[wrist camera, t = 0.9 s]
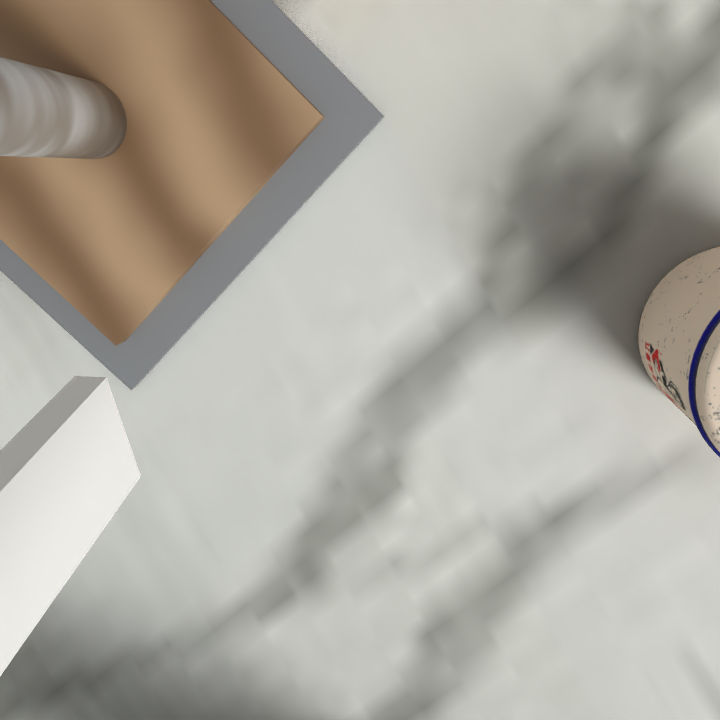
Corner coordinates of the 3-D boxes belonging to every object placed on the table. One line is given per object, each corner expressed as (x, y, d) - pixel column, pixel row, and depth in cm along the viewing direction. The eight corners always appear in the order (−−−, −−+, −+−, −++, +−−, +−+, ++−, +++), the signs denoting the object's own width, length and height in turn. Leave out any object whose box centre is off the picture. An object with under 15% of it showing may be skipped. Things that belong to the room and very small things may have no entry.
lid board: (125, 340, 38) (2, 408, 27) (-105, 126, 36) (-336, 108, 25) (325, 117, 34) (273, 92, 23) (75, -138, 32) (-109, -295, 21)
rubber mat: (135, 386, 39) (131, 389, 38) (-146, 128, 37) (-155, 127, 36) (384, 116, 34) (383, 115, 33) (74, -204, 32) (67, -211, 31)
